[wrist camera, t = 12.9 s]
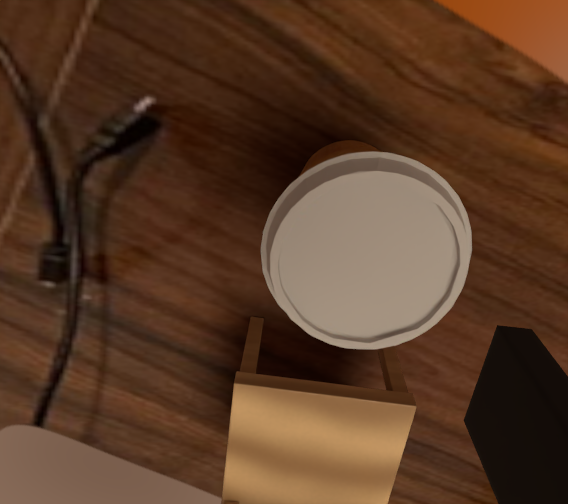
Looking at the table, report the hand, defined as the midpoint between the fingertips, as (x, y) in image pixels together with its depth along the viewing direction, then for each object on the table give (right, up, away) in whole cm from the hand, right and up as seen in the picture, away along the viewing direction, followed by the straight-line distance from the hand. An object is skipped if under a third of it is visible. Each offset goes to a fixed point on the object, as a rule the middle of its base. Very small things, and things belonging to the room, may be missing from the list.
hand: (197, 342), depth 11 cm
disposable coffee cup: (+6, +6, +21) cm, 23 cm away
